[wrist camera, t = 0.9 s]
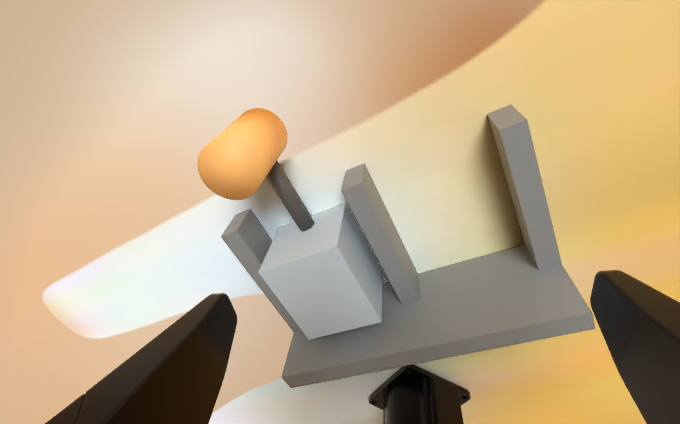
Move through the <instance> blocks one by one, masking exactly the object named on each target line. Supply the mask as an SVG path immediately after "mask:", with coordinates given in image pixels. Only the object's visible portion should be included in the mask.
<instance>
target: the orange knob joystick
mask: <svg viewBox="0 0 680 424" xmlns="http://www.w3.org/2000/svg"><path fill="white" fill-rule="evenodd" d="M286 143H287V132H286V128H285V126H284V124H283V122H282V121H281V120H280V119H279V118H278V116H276V115H275V114H274V113H272V112H270V111H268V110H265V109H259V108H258V109H257V108H256V109H251V110H248V111H246V112H245V113H244V114H242V115H241V116H240V117H239V118H238V119H237V120H235V121H234V122H233V123H232V124H231V125H230V126H228V127H227V128H226V129H225V130H224V131H223V132H221V133H220V134H219V135H218V136H217V137H216V138H214V139H213V140H212V141H211V142H210V143H209V144H208V145H206V146H205V147H204V148H203V149H202V150H201V152H200V154H199V157H198V171H199V174H200V176H201V178H202V180H203V182H204V183H205V184H206V186H207V187H208V188H209V189H210V190H212V191H213V192H214V193H216V194H217V195H219V196H221V197H224V198H227V199H232V200H241V199H245V198H248V197H250V196H251V195H253V194H254V193H255V192H256V191H257V190H258V188H259V187H260V185H261V183H262V182H263V180H264V179H265V177H267V178H268V180H269V181H270V183H271V185H272V186H273V188H274V189H275V191H276V192H277V194H278V196H279V197H280V199H281V200H282V202H283V204H284V205H285V207H286V208H287V210H288V211H289V213H290V215H291V216H292V218H293V219H294V221H295V222H293V223H290V224H288V225H285V226H282V227H279V228H278V231H277V233H276V235H275V237H274V239H273V241H272V244H271V246H270V248H269V250H268V252H267V254H266V257H265V259H264V261H263V263H262V265H261V267H260V270H259V272H258V273H259V274H260V275H261V277H262V278H263V279H264V281H265V282H266V283H267V285H268V286H269V287H270V289H271V290H272V291H273V293H274V294H275V295H276V297H277V298H278V299H279V301H280V302H281V303H282V305H283V306H284V307H285V309H286V310H287V311H288V313H289V314H290V315H291V317H292V318H293V319H294V321H295V322H296V323H297V325H298V326H299V327H300V329H301V330H302V331H303V333H304V334H305V335H306V337H307V338H308V339H309V340H310V339H314V338H318V337H322V336H326V335H331V334H335V333H339V332H343V331H347V330H351V329H356V328H360V327H364V326H368V325H372V324H376V323H380V322H382V277H383V272H382V270H381V268H380V266H379V264H378V262H377V261H376V259H375V257H374V255H373V253H372V251H371V249H370V248H369V246H368V244H367V242H366V240H365V238H364V237H363V235H362V233H361V231H360V229H359V227H358V225H357V224H356V222H355V220H354V218H353V216H352V214H351V212H350V211H349V209H348V207H347V205H346V203H345V204H342V205H339V206H337V207H334V208H331V209H328V210H326V211H323V212H320V213H318V214H315V215H312V216H310V214H309V212H308V211H307V209H306V207H305V206H304V204H303V202H302V201H301V199H300V197H299V196H298V194H297V192H296V191H295V189H294V188H293V186H292V184H291V183H290V181H289V179H288V178H287V176H286V174H285V173H284V171H283V169H282V168H281V166H280V164H279V163H278V161H277V159H278V157H279V156H280V154H281V153H282V151H283V150H284V148H285V146H286Z"/></svg>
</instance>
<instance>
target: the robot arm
mask: <svg viewBox="0 0 680 424" xmlns="http://www.w3.org/2000/svg"><path fill="white" fill-rule="evenodd" d="M590 302H591V307H592V310H593V312H594V315H595V317H596V320H597V322H598V324H599V327H600V329H601V332H602V334H603V336H604V339H605V341H606V344H607V346H608V348H609V351H610V353H611V356H612V358H613V360H614V363H615V365H616V367H617V369H618V372H619V374H620V376H621V378H622V379H623V381H624V383H625V385H626V387H627V389H628V391H629V392H630V394H631V396H632V398H633V400H634V401H635V403H636V405H637V407H638V409H639V410H640V412H641V414H642V416H643V418H644V419H645V421H646V423H647V424H680V302H678V301H676V300H674V299H672V298H670V297H668V296H667V295H665V294H663V293H661V292H659V291H657V290H656V289H654V288H652V287H650V286H648V285H646V284H644V283H643V282H641V281H639V280H637V279H635V278H633V277H631V276H630V275H628V274H626V273H624V272H622V271H619V270H609V271H600V272H598V273H597V274H596V276H595V280H594V284H593V289H592V293H591V298H590ZM236 325H237V315H236V312H235V310H234V308H233V306H232V304H231V302H230V299H229V297H228V296H227V295H226V294H224V293H220V294H211V295H209V296H208V297H207V298H205V299H204V300H203V301H201V302H200V303H199V304H198V305H196V306H195V307H194V308H193V309H191V310H190V311H189V312H187V313H186V314H185V315H184V316H182V317H181V318H180V319H179V320H177V321H176V322H175V323H173V324H172V325H171V326H170V327H168V328H167V329H166V330H164V331H163V332H162V333H161V334H159V335H158V336H157V337H156V338H154V339H153V340H152V341H151V342H149V343H148V344H147V345H145V346H144V347H143V348H141V349H140V350H139V351H138V352H136V354H134V355H133V356H131V357H130V358H129V359H127V360H126V361H125V362H124V363H122V364H121V365H120V366H119V367H117V368H116V369H115V370H113V371H112V372H111V373H110V374H108V375H107V376H106V377H104V378H103V379H102V380H101V381H99V382H98V383H97V384H96V385H94V386H93V387H92V388H90V389H89V390H88V391H87V392H86V394H83V395H82V396H80V397H79V398H78V399H76V400H75V401H74V402H73V403H71V404H70V405H69V406H67V407H66V408H65V409H64V410H62V411H61V412H60V413H58V414H57V415H56V416H54V417H53V418H52V419H51V420H49V421H48V422H47V423H45V424H208V423H209V420H210V417H211V414H212V411H213V408H214V405H215V403H216V400H217V397H218V394H219V391H220V388H221V385H222V382H223V379H224V375H225V372H226V368H227V363H228V359H229V355H230V350H231V346H232V342H233V338H234V333H235V329H236ZM469 399H470V392H469V391H468V390H466V389H464V388H462V387H459V386H457V385H455V384H453V383H451V382H449V381H447V380H444V379H442V378H440V377H438V376H436V375H434V374H432V373H430V372H427V371H425V370H423V369H421V368H419V367H417V366H415V365H407V366H404V367H402V368H401V369H400V370H399V371H398V372H397V373H396V374H394V375H393V376H392V377H391V378H390V379H389V380H388V381H386V382H385V383H384V384H383V385H382V386H381V387H380V388H378V389H377V390H376V391H375V392H374V393H373V394H372V395H371V396H370V397H369V403H370V404H371V405H374V406H376V407H378V408H380V409H383V410H384V417H383V424H464V423H463V417H462V412H461V405H462V404H464V403H465V402H467V401H468V400H469Z"/></svg>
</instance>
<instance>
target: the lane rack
mask: <svg viewBox="0 0 680 424" xmlns="http://www.w3.org/2000/svg"><path fill="white" fill-rule="evenodd" d="M487 116H488V119H489V123H490V126H491V130H492V133H493V137H494V140H495V143H496V147H497V150H498V154H499V157H500V161H501V164H502V167H503V171H504V174H505V178H506V181H507V185H508V188H509V192H510V195H511V198H512V202H513V205H514V209H515V212H516V216H517V219H518V222H519V226H520V229H521V233H522V236H523V240H524V243H525V245H521V246H517V247H514V248H510V249H507V250H503V251H499V252H496V253H492V254H489V255H485V256H481V257H478V258H474V259H471V260H467V261H463V262H460V263H456V264H453V265H449V266H445V267H442V268H438V269H435V270H431V271H427V272H424V273H420V274H418V273H417V271H416V269H415V267H414V265H413V263H412V261H411V259H410V257H409V255H408V253H407V251H406V249H405V247H404V244H403V242H402V240H401V238H400V236H399V234H398V232H397V230H396V228H395V226H394V224H393V222H392V220H391V218H390V215H389V213H388V211H387V209H386V207H385V205H384V203H383V201H382V199H381V197H380V195H379V193H378V191H377V189H376V186H375V184H374V182H373V180H372V178H371V176H370V174H369V172H368V170H367V168H366V166H365V164H362V165H359V166H357V167H354V168H352V169H349V170H347V171H346V173H345V177H344V181H343V185H342V190H341V191H342V193H343V195H344V197H345V199H346V200H347V202H348V204H349V206H350V208H351V210H352V212H353V214H354V215H355V217H356V219H357V221H358V223H359V225H360V227H361V228H362V230H363V232H364V234H365V236H366V238H367V240H368V242H369V243H370V245H371V247H372V249H373V251H374V253H375V255H376V257H377V258H378V260H379V262H380V264H381V266H382V268H383V270H384V271H385V273H386V275H387V277H388V279H389V281H390V282H388V283H384V284H382V322H380V323H376V324H372V325H368V326H364V327H360V328H356V329H351V330H347V331H343V332H339V333H335V334H331V335H326V336H322V337H318V338H314V339H310V340H309V339H308V338H307V337H306V335H305V334H304V333H303V331H302V330H301V329H300V327H299V326H298V325H297V323H296V322H295V321H294V319H293V318H292V317H291V315H290V314H289V313H288V311H287V310H286V309H285V307H284V306H283V305H282V303H281V302H280V301H279V299H278V298H277V297H276V295H275V294H274V293H273V291H272V290H271V289H270V287H269V286H268V285H267V283H266V282H265V281H264V279H263V278H262V277H261V275H260V274H259V273H258V272H259V270H260V267H261V265H262V263H263V261H264V259H265V257H266V254H267V252H268V250H269V248H270V246H271V244H272V240H271V238H270V237H269V236H268V234H267V233H266V231H265V230H264V228H263V227H262V225H261V224H260V222H259V221H258V220H257V218H256V217H255V215H254V214H253V212H252V211H251V209H249V210H247V211H244V212H242V213H239V214H237V215H235V217H234V218H233V220H232V221H231V223H230V224H229V226H228V227H227V228H226V230H225V231H224V233H223V234H222V236H221V237H222V239H223V240H224V241H225V243H226V244H227V245H228V247H229V248H230V249H231V251H232V252H233V253H234V254H235V256H236V257H237V258H238V260H239V261H240V262H241V264H242V265H243V266H244V268H245V269H246V270H247V272H248V273H249V274H250V275H251V277H252V278H253V279H254V281H255V282H256V283H257V285H258V286H259V287H260V289H261V290H262V291H263V293H264V294H265V295H266V296H267V298H268V299H269V300H270V302H271V303H272V304H273V306H274V307H275V308H276V310H277V311H278V312H279V313H280V315H281V316H282V317H283V319H284V320H285V321H286V323H287V324H288V325H289V327H290V328H291V329H292V330H293V332H294V334H293V338H292V342H291V345H290V348H289V352H288V356H287V359H286V363H285V366H284V370H283V374H282V378H283V379H284V380H285V382H286V383H287V384H288V385H289V386H290V387H291V388H294V387H299V386H304V385H309V384H314V383H319V382H325V381H330V380H335V379H340V378H345V377H350V376H355V375H360V374H366V373H371V372H376V371H381V370H386V369H391V368H396V367H402V366H407V365H412V364H417V363H422V362H427V361H432V360H437V359H443V358H448V357H453V356H458V355H463V354H468V353H473V352H479V351H484V350H489V349H494V348H499V347H504V346H509V345H514V344H520V343H525V342H530V341H535V340H540V339H545V338H550V337H556V336H561V335H566V334H571V333H576V332H581V331H586V330H592V329H595V325H594V320H593V315H592V312H591V310H590V308H589V307H588V305H587V304H586V302H585V301H584V299H583V297H582V296H581V294H580V293H579V291H578V289H577V288H576V286H575V285H574V283H573V282H572V280H571V278H570V277H569V275H568V274H567V272H566V271H565V269H564V267H563V266H562V263H561V259H560V255H559V251H558V246H557V242H556V238H555V234H554V230H553V226H552V221H551V217H550V213H549V209H548V205H547V201H546V196H545V192H544V188H543V184H542V180H541V176H540V171H539V167H538V163H537V159H536V155H535V151H534V146H533V142H532V138H531V134H530V130H529V126H528V121H527V119H526V118H525V117H524V116H523V115H522V114H520V113H519V112H518V111H517V110H516V109H515V108H514V107H513V106H512V105H510V106H507V107H505V108H502V109H499V110H497V111H494V112H492V113H489V114H487Z"/></svg>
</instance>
